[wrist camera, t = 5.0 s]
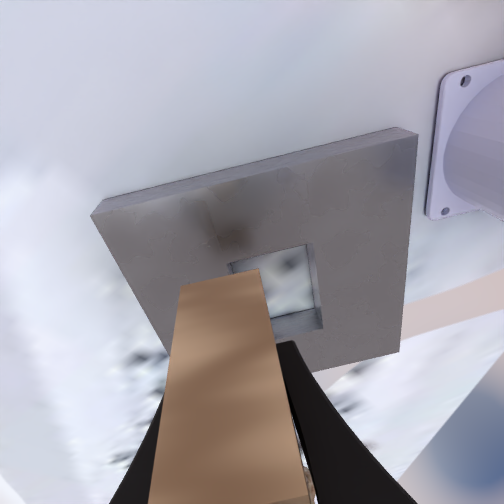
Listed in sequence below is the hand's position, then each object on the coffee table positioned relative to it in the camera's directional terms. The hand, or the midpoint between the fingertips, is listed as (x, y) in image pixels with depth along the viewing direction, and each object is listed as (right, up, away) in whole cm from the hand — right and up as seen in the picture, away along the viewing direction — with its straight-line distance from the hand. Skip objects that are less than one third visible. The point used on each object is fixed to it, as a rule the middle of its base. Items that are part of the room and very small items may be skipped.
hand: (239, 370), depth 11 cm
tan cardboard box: (0, +1, +2) cm, 2 cm away
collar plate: (+2, +2, +9) cm, 10 cm away
